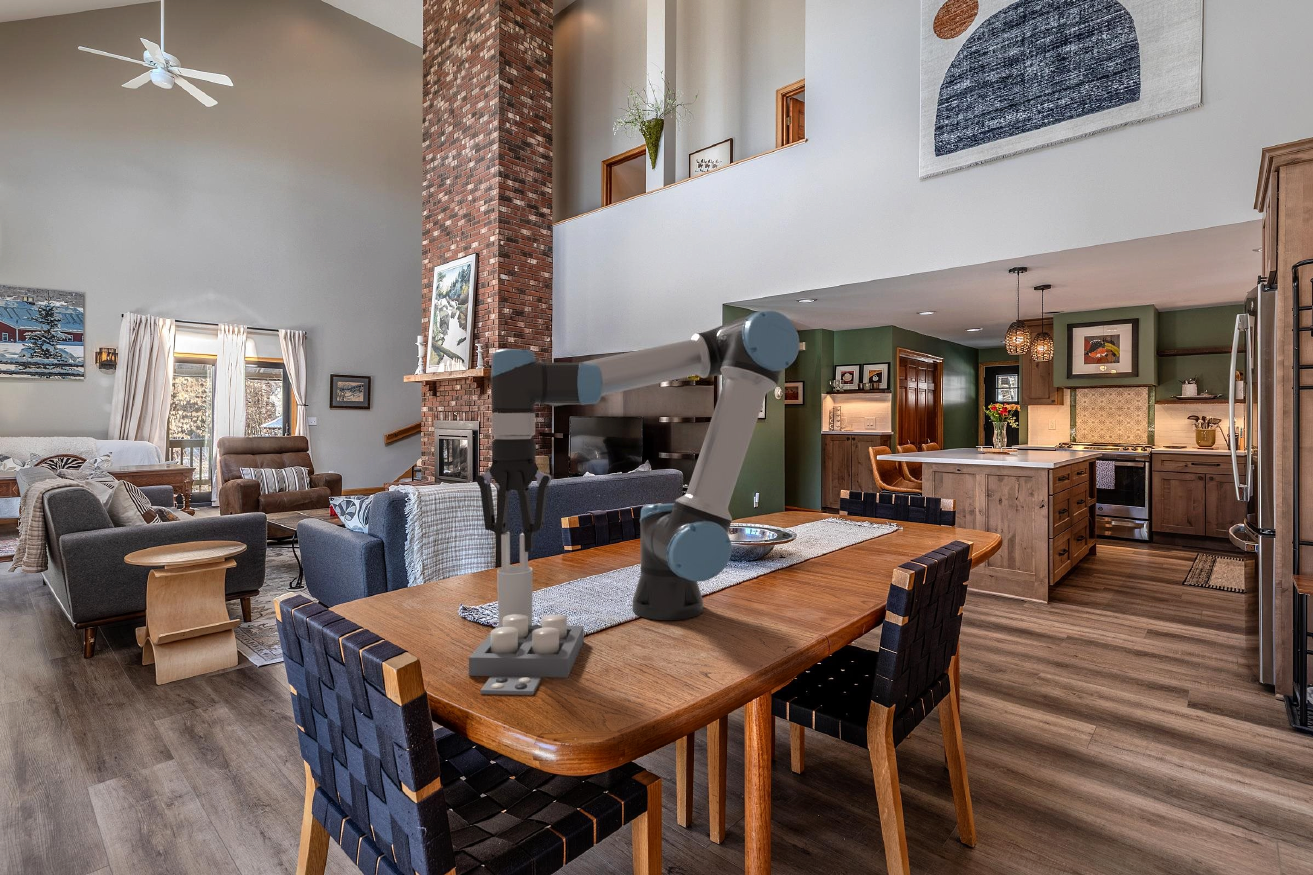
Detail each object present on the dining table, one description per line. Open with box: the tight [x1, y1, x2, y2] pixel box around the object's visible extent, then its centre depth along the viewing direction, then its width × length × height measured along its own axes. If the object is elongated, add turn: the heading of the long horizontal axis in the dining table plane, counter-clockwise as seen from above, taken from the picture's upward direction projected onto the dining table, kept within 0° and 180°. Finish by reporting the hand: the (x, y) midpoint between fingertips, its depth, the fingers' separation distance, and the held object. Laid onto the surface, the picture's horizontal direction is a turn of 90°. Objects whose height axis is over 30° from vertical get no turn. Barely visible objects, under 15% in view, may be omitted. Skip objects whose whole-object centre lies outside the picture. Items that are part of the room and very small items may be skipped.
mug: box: [496, 565, 534, 625], centre depth 125 cm, size 10×7×12 cm, turn 25°
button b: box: [503, 614, 528, 639], centre depth 114 cm, size 4×4×4 cm
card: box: [480, 676, 542, 696], centre depth 98 cm, size 8×5×1 cm, turn 87°
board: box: [468, 624, 585, 679], centre depth 110 cm, size 16×16×3 cm
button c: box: [532, 627, 559, 654], centre depth 106 cm, size 4×4×4 cm
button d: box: [490, 627, 518, 654], centre depth 107 cm, size 4×4×4 cm
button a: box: [541, 614, 568, 639], centre depth 113 cm, size 4×4×4 cm
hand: (514, 569), depth 113 cm, fingers open, 3 cm apart
